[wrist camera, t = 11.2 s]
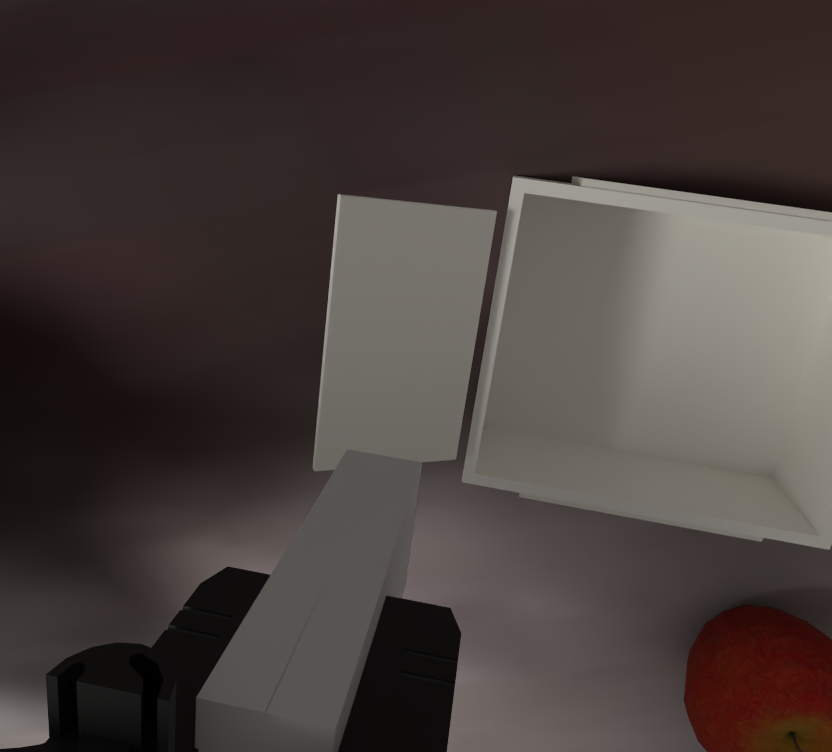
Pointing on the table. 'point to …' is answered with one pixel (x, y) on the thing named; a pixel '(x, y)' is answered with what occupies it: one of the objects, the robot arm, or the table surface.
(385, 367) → the flap
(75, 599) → the table surface
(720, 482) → the carton
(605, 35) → the table surface
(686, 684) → the apple
